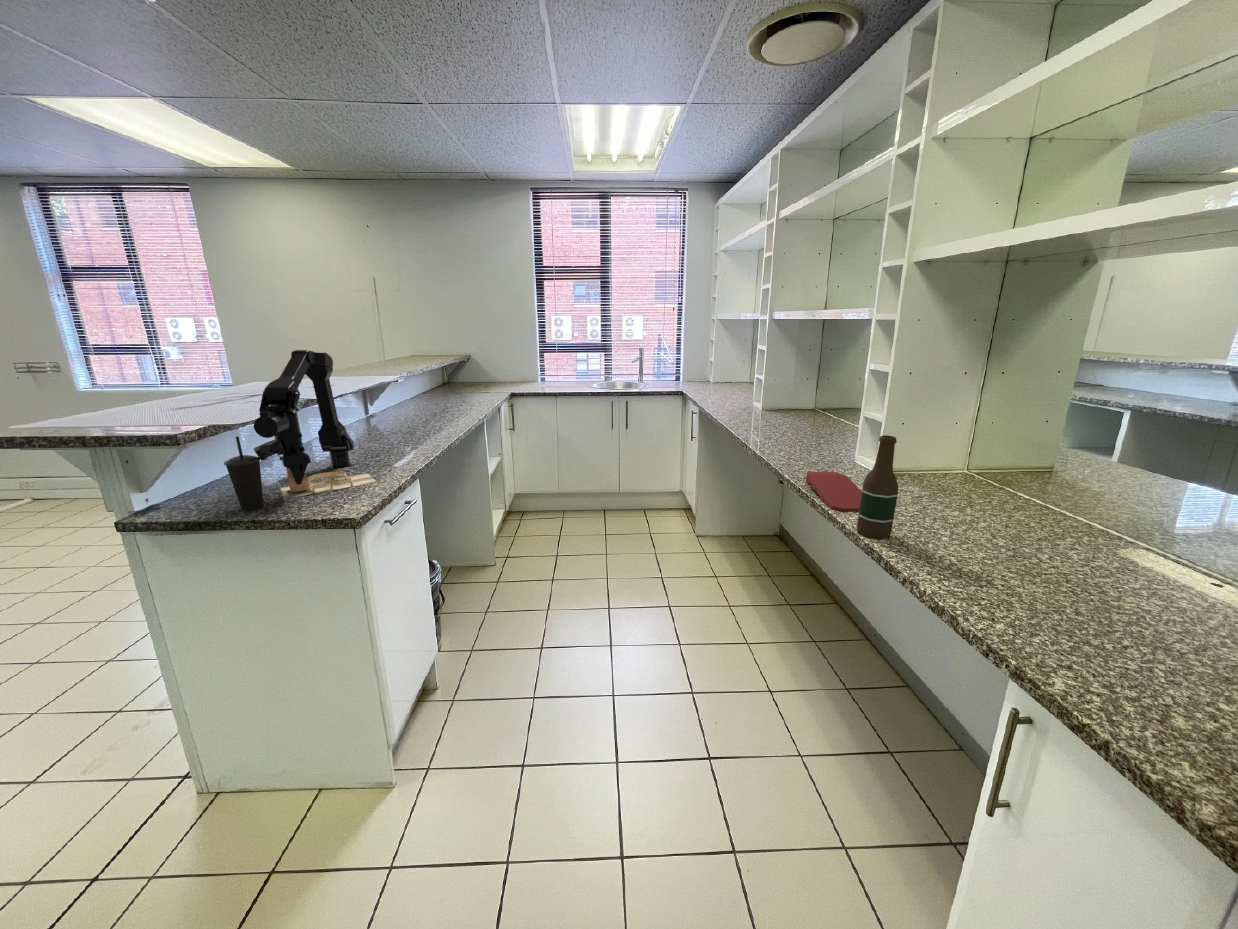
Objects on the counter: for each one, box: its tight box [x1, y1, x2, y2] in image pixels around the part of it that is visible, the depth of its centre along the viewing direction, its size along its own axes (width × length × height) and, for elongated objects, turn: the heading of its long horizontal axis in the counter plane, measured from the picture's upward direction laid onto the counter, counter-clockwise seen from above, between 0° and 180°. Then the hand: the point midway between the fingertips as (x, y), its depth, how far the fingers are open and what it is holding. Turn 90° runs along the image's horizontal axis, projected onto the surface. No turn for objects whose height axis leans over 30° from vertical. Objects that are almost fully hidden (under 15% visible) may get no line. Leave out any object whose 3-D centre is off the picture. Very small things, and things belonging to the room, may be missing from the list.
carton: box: [805, 471, 862, 512], centre depth 142 cm, size 12×5×25 cm
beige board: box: [279, 472, 378, 503], centre depth 147 cm, size 12×24×1 cm, turn 130°
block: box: [285, 467, 308, 492], centre depth 139 cm, size 4×4×7 cm
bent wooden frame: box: [306, 470, 354, 495], centre depth 146 cm, size 12×11×2 cm
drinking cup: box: [223, 436, 265, 513], centre depth 127 cm, size 8×8×20 cm
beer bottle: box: [856, 434, 899, 541], centre depth 113 cm, size 8×8×24 cm
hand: (297, 482), depth 140 cm, fingers open, 4 cm apart
